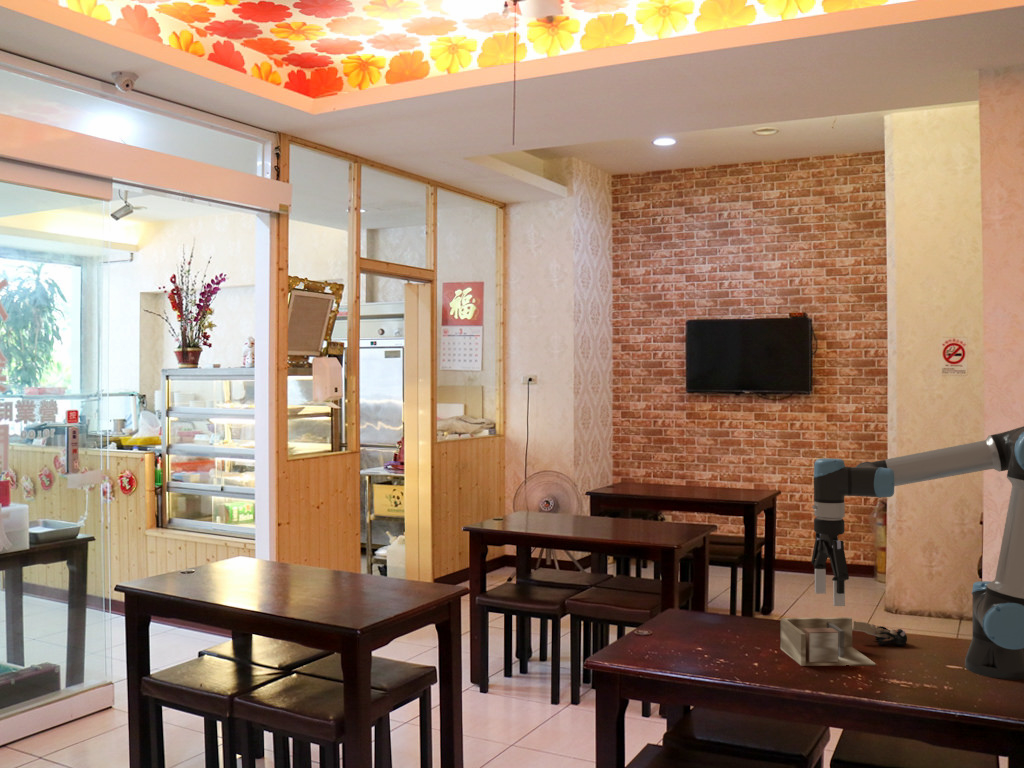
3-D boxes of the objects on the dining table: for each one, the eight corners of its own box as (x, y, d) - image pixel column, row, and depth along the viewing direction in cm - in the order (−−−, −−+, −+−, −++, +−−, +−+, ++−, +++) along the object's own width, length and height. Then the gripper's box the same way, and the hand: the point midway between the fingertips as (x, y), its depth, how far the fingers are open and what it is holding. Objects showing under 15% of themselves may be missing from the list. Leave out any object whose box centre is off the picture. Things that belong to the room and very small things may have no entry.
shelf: (850, 649, 254) (850, 617, 254) (875, 667, 238) (875, 633, 238) (780, 650, 253) (780, 618, 253) (801, 668, 237) (801, 634, 237)
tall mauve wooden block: (832, 657, 243) (832, 627, 243) (838, 662, 239) (838, 632, 239) (803, 657, 243) (803, 628, 243) (808, 662, 239) (808, 632, 239)
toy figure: (850, 621, 266) (904, 632, 262) (848, 642, 263) (902, 654, 260) (854, 616, 259) (910, 627, 256) (853, 637, 257) (909, 649, 253)
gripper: (799, 511, 248) (799, 588, 248) (832, 525, 223) (832, 611, 223) (826, 511, 248) (826, 588, 248) (862, 525, 223) (862, 611, 223)
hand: (829, 599), depth 235 cm, fingers open, 13 cm apart
